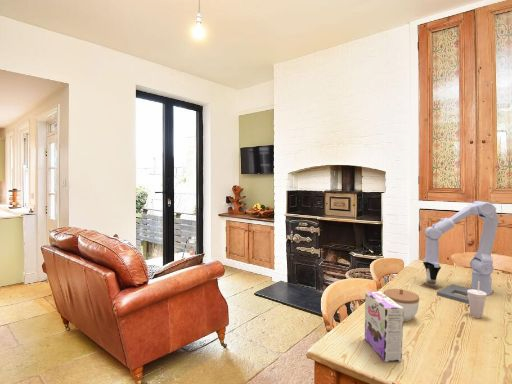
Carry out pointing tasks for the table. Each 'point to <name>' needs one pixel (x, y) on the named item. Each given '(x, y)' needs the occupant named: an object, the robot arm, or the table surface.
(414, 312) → the lidded bowl
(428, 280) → the steel peg
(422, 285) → the tab
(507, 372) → the table surface
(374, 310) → the candy box
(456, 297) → the hole plate
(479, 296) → the smoothie
